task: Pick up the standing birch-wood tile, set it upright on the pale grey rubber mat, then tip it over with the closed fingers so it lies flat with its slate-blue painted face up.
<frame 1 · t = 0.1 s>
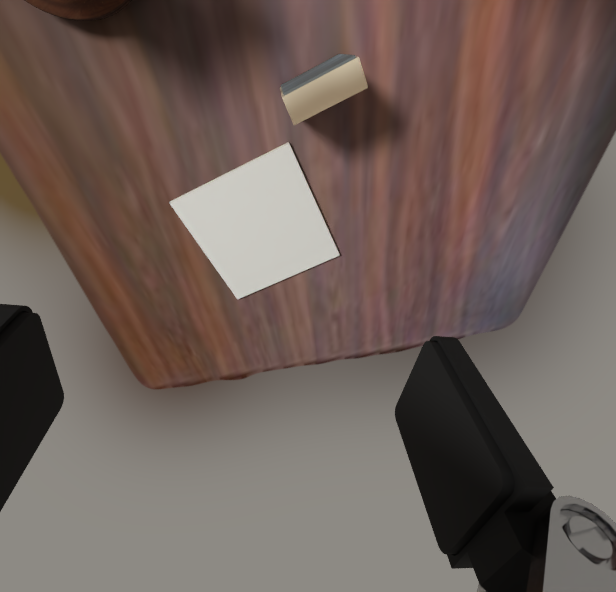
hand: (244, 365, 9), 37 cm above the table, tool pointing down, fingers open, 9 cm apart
rubber mat: (260, 229, 47), on the table
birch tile: (314, 83, 38), on the table
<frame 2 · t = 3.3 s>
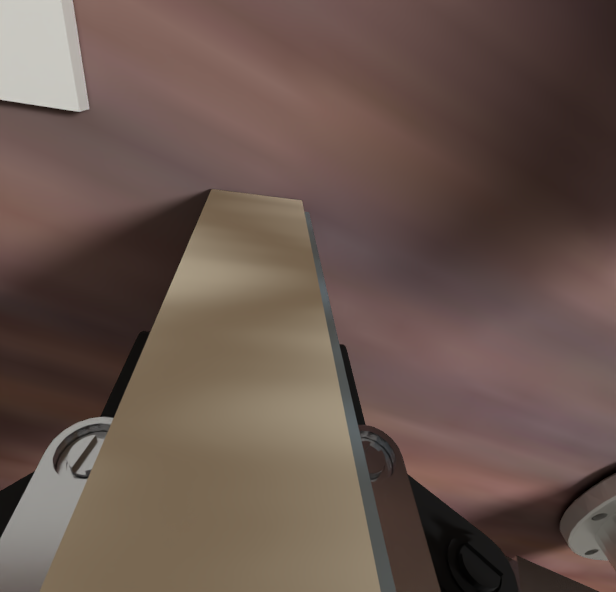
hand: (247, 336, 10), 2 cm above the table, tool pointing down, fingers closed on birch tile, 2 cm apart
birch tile: (248, 301, 12), on the table, touching gripper
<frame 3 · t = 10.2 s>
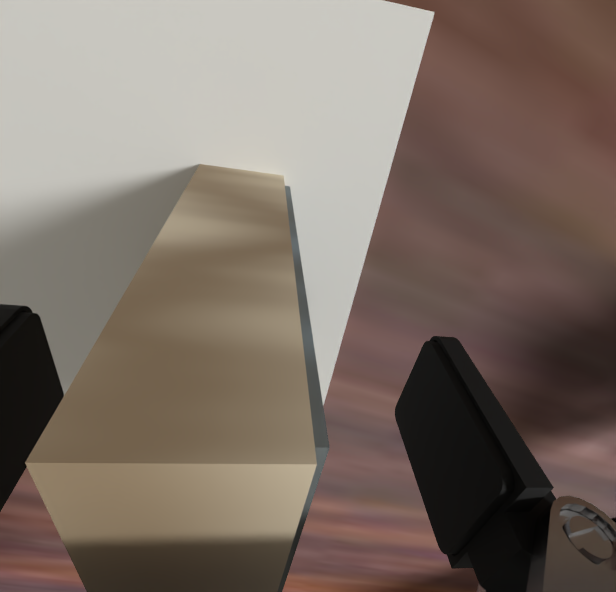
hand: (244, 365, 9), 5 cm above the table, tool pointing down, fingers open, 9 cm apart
rubber mat: (128, 258, 12), on the table
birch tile: (236, 272, 12), resting on rubber mat
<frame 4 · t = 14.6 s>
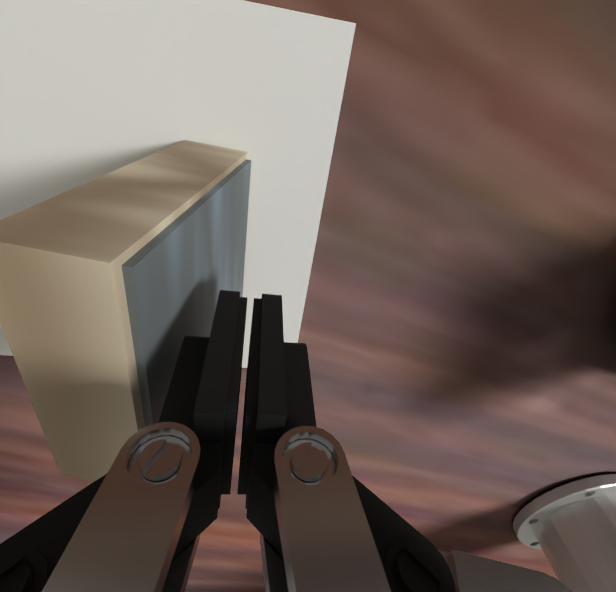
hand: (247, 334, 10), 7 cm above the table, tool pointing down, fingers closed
rubber mat: (130, 218, 15), on the table
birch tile: (215, 232, 15), point 1 cm above the table, tilted 11°, touching rubber mat
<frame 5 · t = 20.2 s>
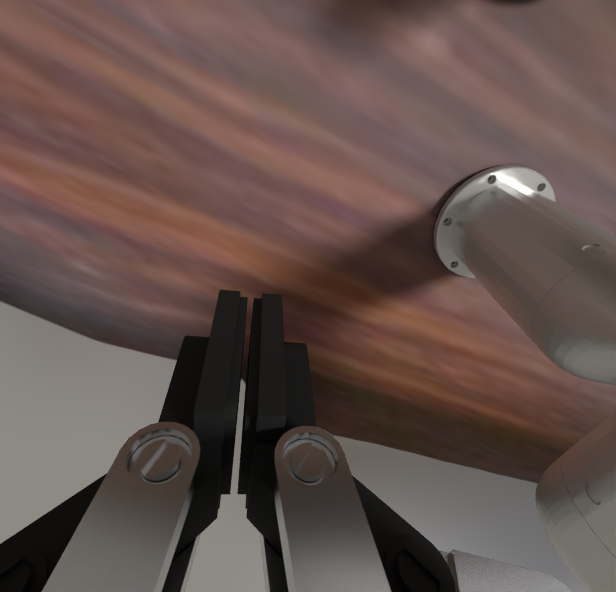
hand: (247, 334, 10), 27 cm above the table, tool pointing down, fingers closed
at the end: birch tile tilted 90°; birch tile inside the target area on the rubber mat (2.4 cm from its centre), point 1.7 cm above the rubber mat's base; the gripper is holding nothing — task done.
